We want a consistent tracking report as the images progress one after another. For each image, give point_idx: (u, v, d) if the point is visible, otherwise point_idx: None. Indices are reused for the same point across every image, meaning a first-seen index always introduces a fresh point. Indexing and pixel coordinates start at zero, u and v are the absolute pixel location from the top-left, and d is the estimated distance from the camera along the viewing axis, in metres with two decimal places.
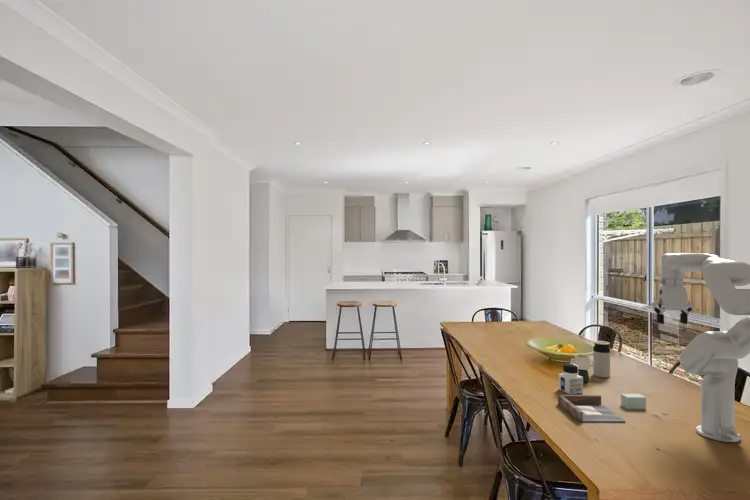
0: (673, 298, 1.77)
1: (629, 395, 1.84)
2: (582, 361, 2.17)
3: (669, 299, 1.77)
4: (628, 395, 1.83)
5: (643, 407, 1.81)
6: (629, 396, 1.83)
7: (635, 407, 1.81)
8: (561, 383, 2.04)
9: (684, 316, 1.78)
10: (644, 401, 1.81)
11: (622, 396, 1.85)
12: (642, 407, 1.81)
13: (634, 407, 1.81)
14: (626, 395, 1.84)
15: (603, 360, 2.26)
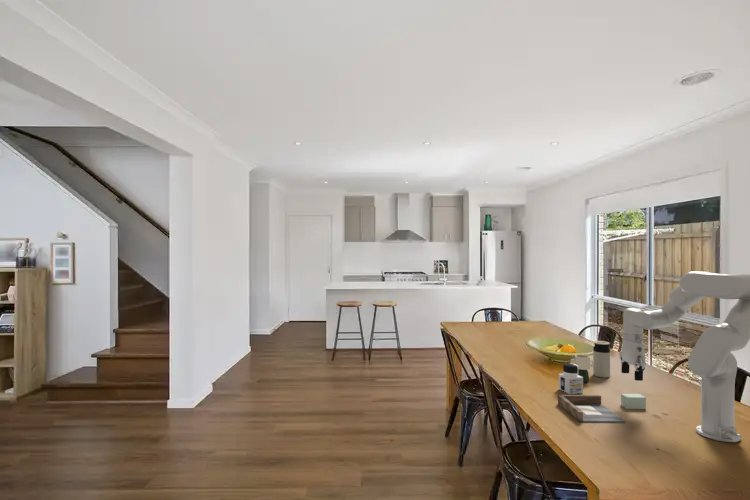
0: None
1: (629, 395, 1.84)
2: (582, 361, 2.17)
3: None
4: (628, 395, 1.83)
5: (643, 407, 1.81)
6: (629, 396, 1.83)
7: (635, 407, 1.81)
8: (561, 383, 2.04)
9: (628, 366, 1.89)
10: (644, 401, 1.81)
11: (622, 396, 1.85)
12: (642, 407, 1.81)
13: (634, 407, 1.81)
14: (626, 395, 1.84)
15: (603, 360, 2.26)
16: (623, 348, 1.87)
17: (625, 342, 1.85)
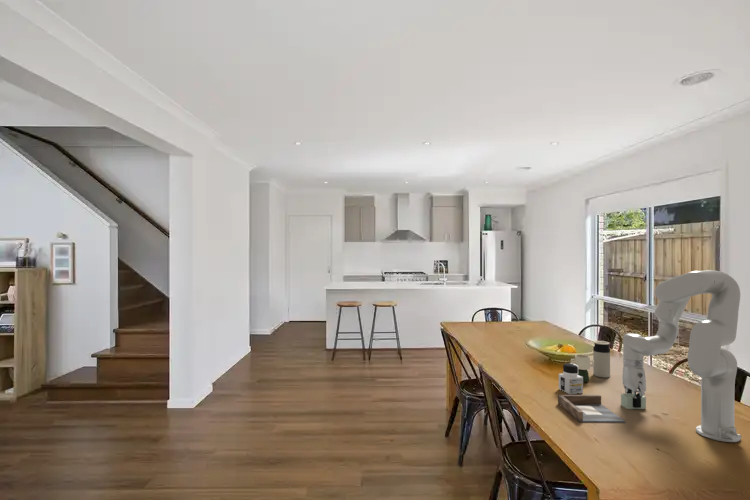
0: None
1: (629, 395, 1.84)
2: (582, 361, 2.17)
3: None
4: (628, 395, 1.83)
5: (643, 407, 1.81)
6: (629, 396, 1.83)
7: None
8: (561, 383, 2.04)
9: None
10: (644, 400, 1.81)
11: (622, 396, 1.85)
12: (642, 407, 1.81)
13: None
14: (626, 395, 1.84)
15: (603, 360, 2.26)
16: (624, 373, 1.86)
17: (626, 368, 1.84)
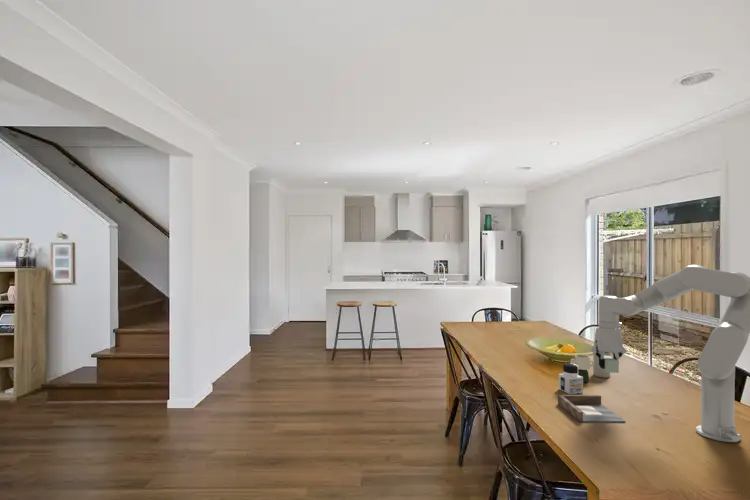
0: None
1: (609, 359, 1.79)
2: (582, 361, 2.17)
3: None
4: (611, 359, 1.79)
5: None
6: (613, 359, 1.78)
7: None
8: (561, 383, 2.04)
9: None
10: None
11: (610, 362, 1.77)
12: None
13: None
14: (611, 359, 1.78)
15: None
16: (604, 339, 1.78)
17: (609, 332, 1.78)
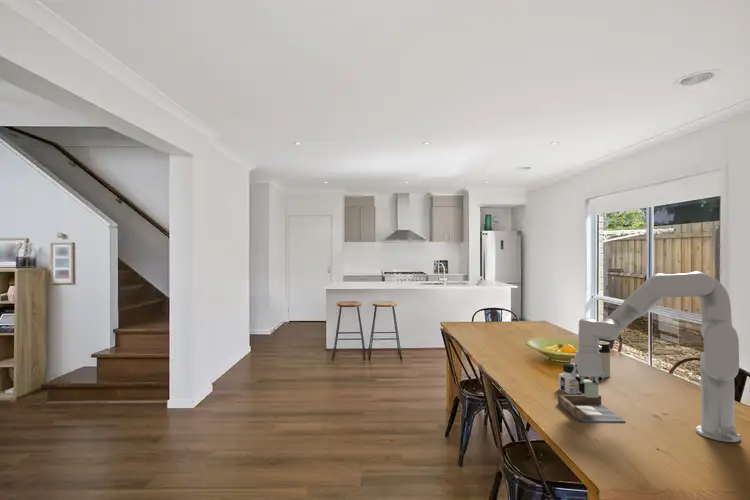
0: None
1: (589, 383, 1.77)
2: None
3: None
4: (591, 383, 1.76)
5: None
6: (593, 384, 1.76)
7: None
8: (561, 383, 2.04)
9: None
10: None
11: (589, 387, 1.74)
12: None
13: None
14: (591, 384, 1.75)
15: (603, 360, 2.26)
16: (584, 363, 1.76)
17: (589, 356, 1.76)
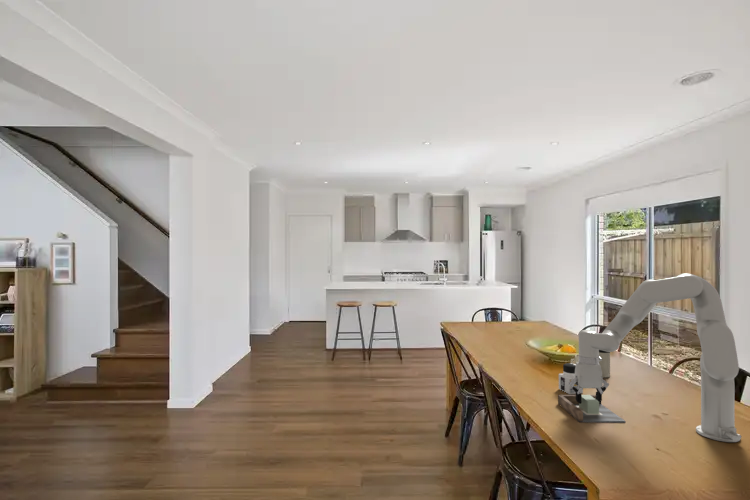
0: None
1: (590, 399, 1.76)
2: None
3: None
4: (592, 400, 1.76)
5: None
6: (594, 400, 1.76)
7: None
8: (561, 383, 2.04)
9: None
10: None
11: (590, 403, 1.74)
12: None
13: None
14: (591, 400, 1.75)
15: (603, 360, 2.26)
16: (584, 375, 1.76)
17: (589, 367, 1.75)
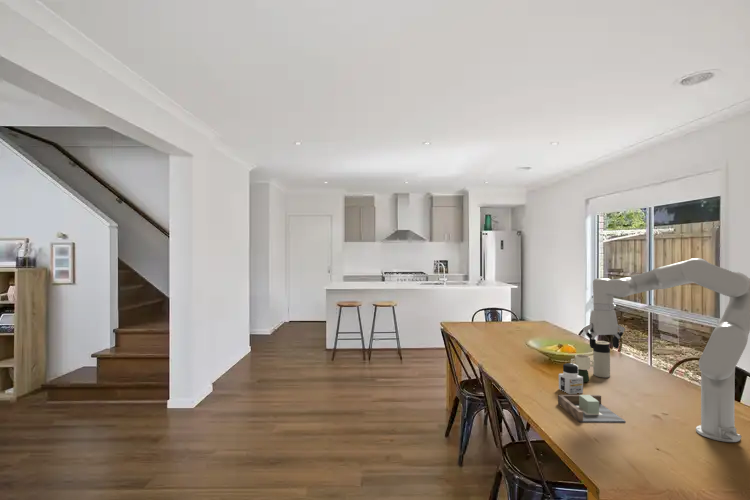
0: None
1: (590, 399, 1.76)
2: (582, 361, 2.17)
3: None
4: (592, 400, 1.76)
5: None
6: (594, 400, 1.76)
7: None
8: (561, 383, 2.04)
9: None
10: None
11: (590, 403, 1.74)
12: None
13: None
14: (591, 400, 1.75)
15: (603, 360, 2.26)
16: (600, 321, 1.78)
17: (605, 314, 1.78)
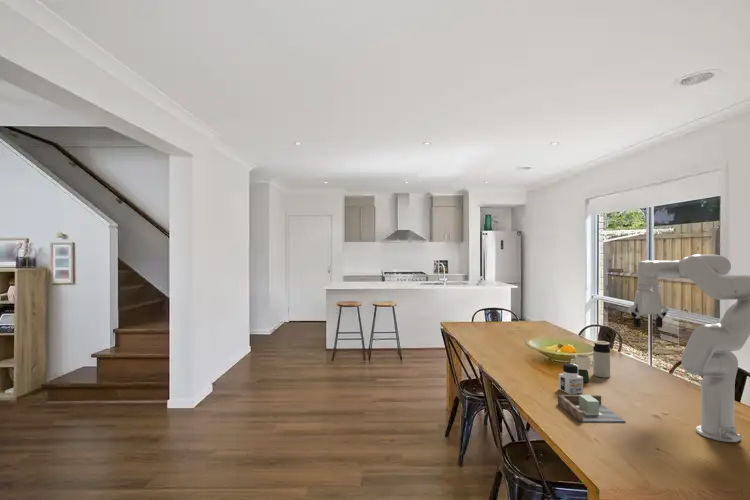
0: None
1: (590, 399, 1.76)
2: (582, 361, 2.17)
3: None
4: (592, 400, 1.76)
5: None
6: (594, 400, 1.76)
7: None
8: (561, 383, 2.04)
9: None
10: None
11: (590, 403, 1.74)
12: None
13: None
14: (591, 400, 1.75)
15: (603, 360, 2.26)
16: (645, 301, 1.87)
17: (649, 294, 1.87)
